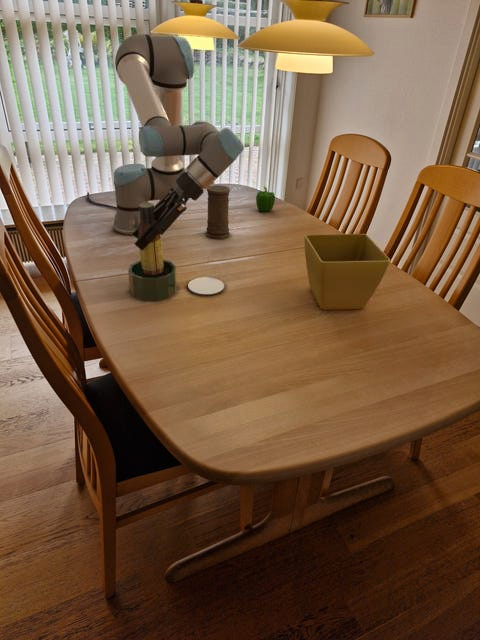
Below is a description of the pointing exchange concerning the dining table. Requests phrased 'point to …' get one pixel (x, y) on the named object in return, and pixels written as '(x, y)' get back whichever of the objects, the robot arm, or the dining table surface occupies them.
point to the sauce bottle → (153, 250)
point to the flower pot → (343, 269)
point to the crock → (152, 282)
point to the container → (218, 212)
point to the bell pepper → (265, 200)
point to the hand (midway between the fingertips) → (137, 242)
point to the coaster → (206, 286)
